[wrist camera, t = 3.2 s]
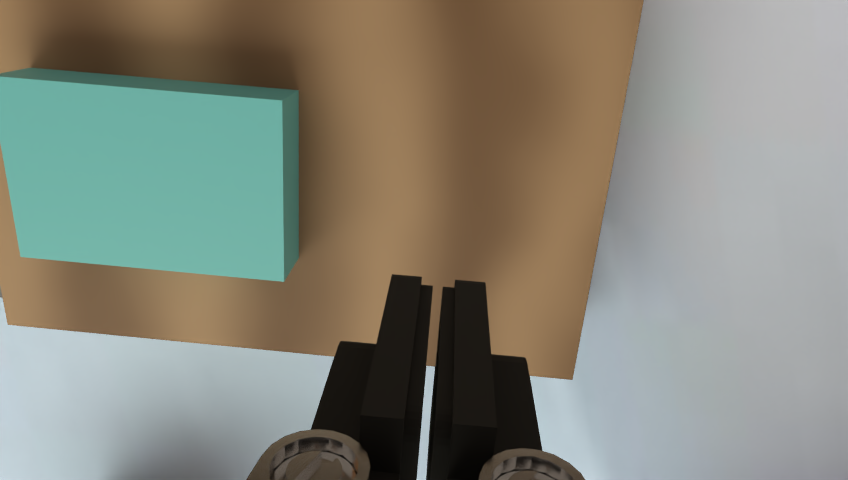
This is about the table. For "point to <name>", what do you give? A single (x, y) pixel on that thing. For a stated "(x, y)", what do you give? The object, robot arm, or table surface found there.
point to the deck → (364, 163)
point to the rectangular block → (152, 172)
